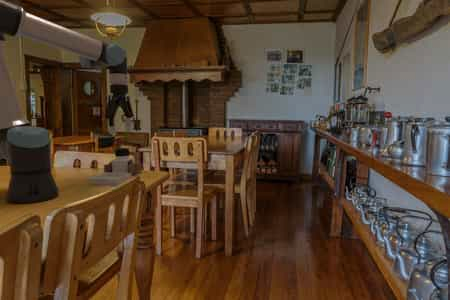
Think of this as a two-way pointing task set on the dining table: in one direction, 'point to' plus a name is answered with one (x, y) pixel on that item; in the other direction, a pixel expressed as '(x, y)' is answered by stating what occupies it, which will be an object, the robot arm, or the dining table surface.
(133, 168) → the rack
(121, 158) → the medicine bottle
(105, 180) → the tray
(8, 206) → the dining table surface
